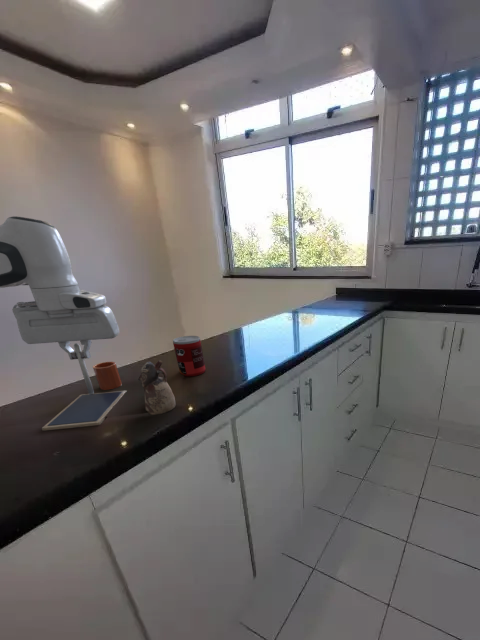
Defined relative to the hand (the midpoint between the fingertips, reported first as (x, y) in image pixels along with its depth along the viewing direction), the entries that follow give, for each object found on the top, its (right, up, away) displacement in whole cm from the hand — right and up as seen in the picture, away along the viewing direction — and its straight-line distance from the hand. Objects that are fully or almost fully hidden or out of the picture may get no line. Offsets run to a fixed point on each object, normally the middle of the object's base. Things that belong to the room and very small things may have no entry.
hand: (81, 358), depth 76 cm
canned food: (+20, -2, +23) cm, 30 cm away
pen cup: (-1, -7, +14) cm, 16 cm away
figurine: (+19, -12, +1) cm, 23 cm away
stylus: (0, -9, +3) cm, 9 cm away
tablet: (+1, -13, +2) cm, 13 cm away
